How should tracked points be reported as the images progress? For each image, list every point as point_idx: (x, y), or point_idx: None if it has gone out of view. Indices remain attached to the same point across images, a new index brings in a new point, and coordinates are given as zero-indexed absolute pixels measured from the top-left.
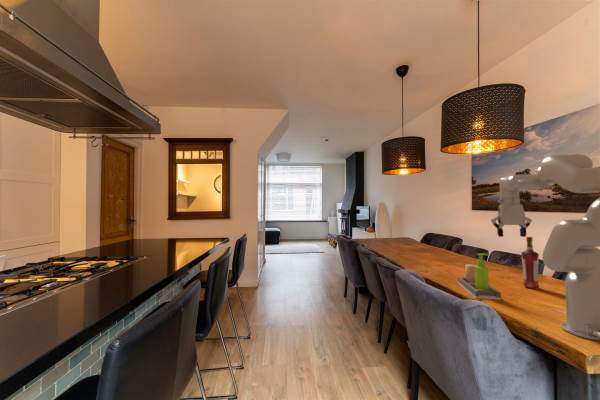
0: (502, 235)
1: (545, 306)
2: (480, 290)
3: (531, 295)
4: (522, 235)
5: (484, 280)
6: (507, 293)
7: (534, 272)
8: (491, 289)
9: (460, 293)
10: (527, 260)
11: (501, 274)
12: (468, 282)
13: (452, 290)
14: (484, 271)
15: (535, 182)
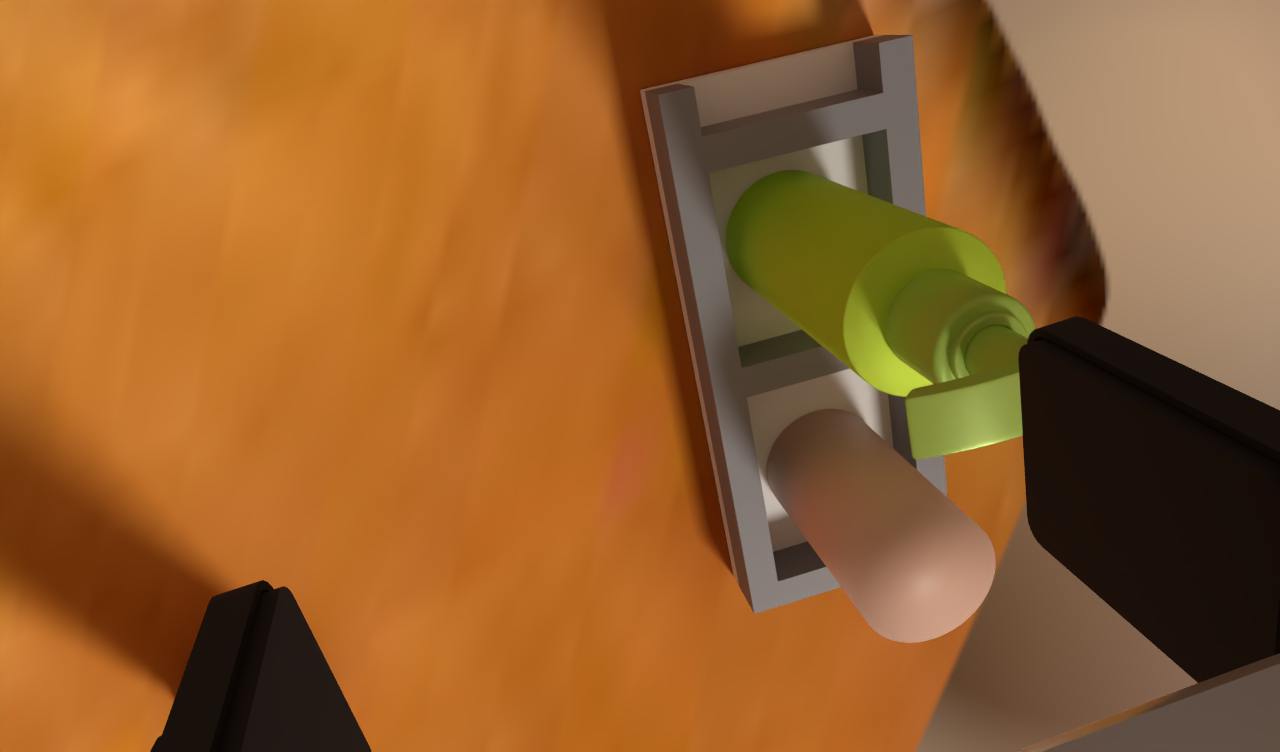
0: (1078, 328)
1: (241, 30)
2: (849, 101)
3: (308, 395)
4: (319, 685)
5: (834, 198)
6: (529, 362)
7: None
8: (715, 230)
9: (977, 155)
10: None
11: None
12: (876, 433)
13: (1026, 231)
14: (887, 221)
15: None
